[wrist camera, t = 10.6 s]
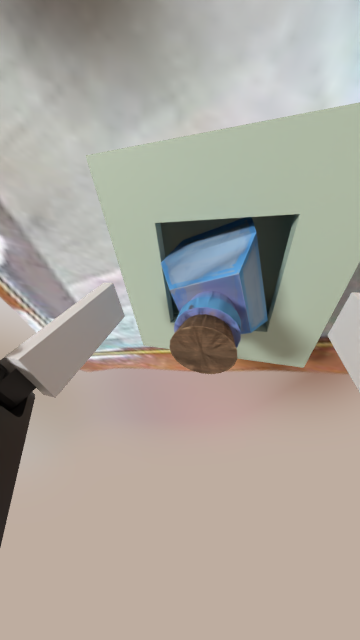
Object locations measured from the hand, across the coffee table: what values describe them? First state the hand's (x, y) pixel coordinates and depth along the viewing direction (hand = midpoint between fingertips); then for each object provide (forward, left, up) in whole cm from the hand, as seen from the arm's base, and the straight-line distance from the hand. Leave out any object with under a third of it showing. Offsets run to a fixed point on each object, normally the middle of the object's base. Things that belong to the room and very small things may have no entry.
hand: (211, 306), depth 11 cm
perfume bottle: (0, 0, -9) cm, 9 cm away
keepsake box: (0, 0, -9) cm, 9 cm away
